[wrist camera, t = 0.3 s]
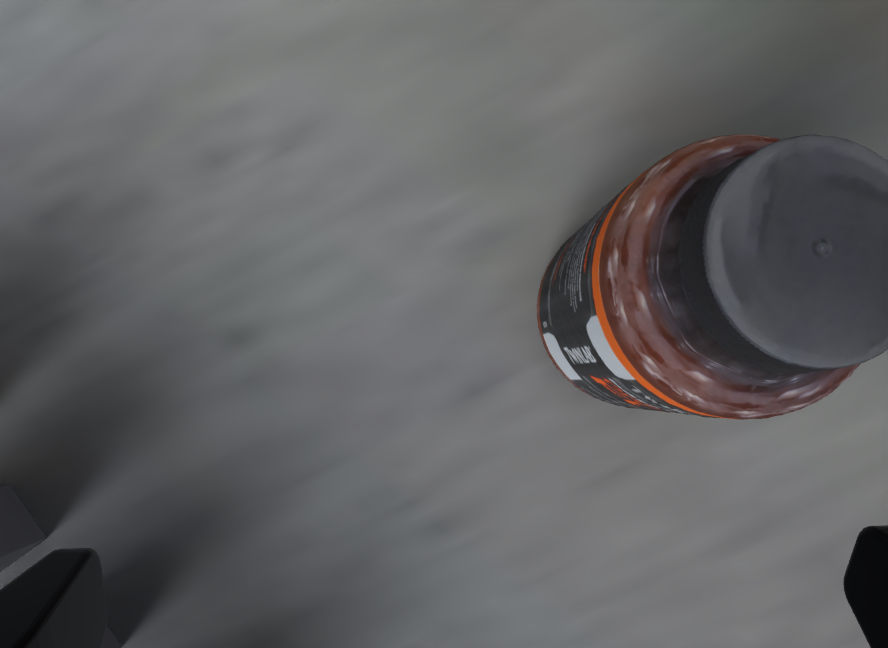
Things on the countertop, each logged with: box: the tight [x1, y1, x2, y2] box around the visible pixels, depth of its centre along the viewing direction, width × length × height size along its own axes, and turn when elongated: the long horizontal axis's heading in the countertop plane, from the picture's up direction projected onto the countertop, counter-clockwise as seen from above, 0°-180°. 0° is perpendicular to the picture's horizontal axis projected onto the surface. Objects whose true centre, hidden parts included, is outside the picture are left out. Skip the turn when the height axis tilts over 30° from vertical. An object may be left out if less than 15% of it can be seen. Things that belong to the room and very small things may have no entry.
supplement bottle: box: [537, 134, 888, 419], centre depth 18 cm, size 6×6×11 cm
